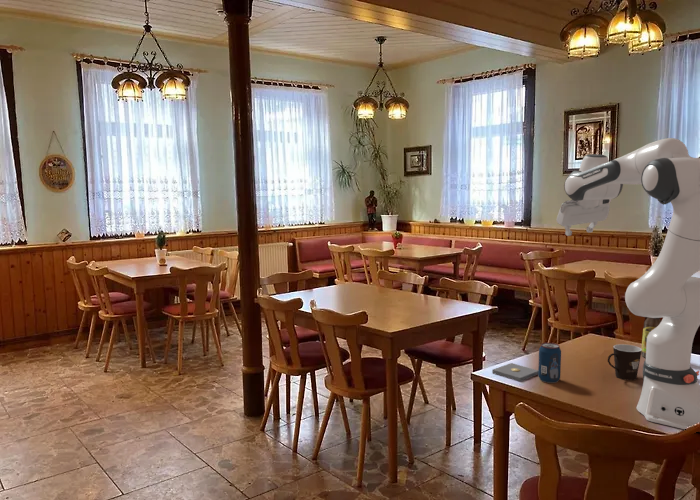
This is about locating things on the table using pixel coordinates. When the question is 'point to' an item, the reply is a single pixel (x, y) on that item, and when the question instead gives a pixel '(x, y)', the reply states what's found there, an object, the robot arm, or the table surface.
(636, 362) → the coffee mug
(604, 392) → the table surface
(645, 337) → the sauce bottle
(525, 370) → the slate board
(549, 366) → the soda can
